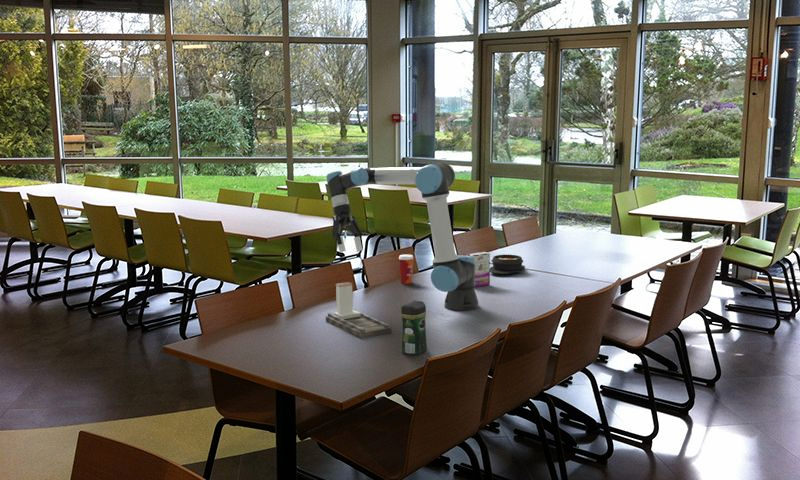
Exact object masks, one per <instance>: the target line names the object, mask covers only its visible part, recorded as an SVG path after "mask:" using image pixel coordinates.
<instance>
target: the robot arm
mask: <svg viewBox="0 0 800 480" xmlns="http://www.w3.org/2000/svg"><path fill="white" fill-rule="evenodd" d="M455 179H456V172H455V170H454V168H453V167H452V166H451V165H450V164H448V163H445V162H438V163H437V162H436V163H431V164H426V165H424V166H411V167H410V166H409V167H407V166H403V167H402V166H400V167H399V166H398V167H374V166H373V167H372V166H371V167H366V168H364V167H357V168H354V169H352V170H349V171H347V172H344V173H343V172H342V171H341V170H335V171H330V172H329V173H327V175H326V182H327V186H328V188H327V189H328V190H329V195H330V199H331V204H332V207H333V214H334V215H333V216H332V222H333V223H332V232H331V233H332V234H331V235H332V238H334V239H336V241H337V246H338V251H339V253H343V252H346V246H345V243H344V242H345V241H344V238H343V236H342V233H343V229H344V227H345V228H348V230H349V231H350V232H351V234H352V235H353V236H354V238H353V239H354V244H355V249H356V252H361V251H363V246H362V240H361V237H362V235H363V233H362V230H361V229H360V227H359V224H358V222H357V221H356V218H355V215H350V213H351V212H352V209H351V206H350V201H349V198H348V192H347V191H349V190H350V189H354V188H356V187H361V186H366V185H415V186H416V189H417V190H418V191H420V192H421V199H423V200H424V201H425V202H426V206H427V213H428V219H429V226H430V231H431V238H432V239H431V240H432V244H433V250H434V251H433V252H434V259H433V260H432V267H433V269H432V270H431V273H430V281H431V284H432V285H433V287H434V288H435V289H437V290H438V291H440V292H443V293H446V292H447V293H446V295H445V299H444V308H446V309H448V310H452V311H463V312H464V311H472V310H475V309H478V308H479V298H478V296H477V293H476V287H475V259H474V258H473V257H471V256H466V255H461V254H460V255H459V254H456V250H455V244H454V237H453V233H452V232H453V231H452V225H451V224H452V223H451V219H450V213H449V206H448V199H447V198H448V197H449V195H450V191H449V190H450V189H449V188H450V187H452V185H454V182H455V181H456V180H455Z"/></svg>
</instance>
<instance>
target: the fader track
mask: <svg viewBox="0 0 800 480" xmlns="http://www.w3.org/2000/svg"><path fill="white" fill-rule="evenodd" d="M353 310H355V311H358V312H360V313H361V316H360V317H354V318H348V319H342V318H340V317H338V316H336V315H334V313H331V312H327V315H326V316H325V321H326V322H327V323H329V324H332V325H334V326H336V327H337V328H339V329H341V330H344V331H346V332H348V333H350V334H352V335H353V336H356V337H357V338H359V339H363V338H368V337H375V336H380V335H386V334H390V333H393V332H392V330H393V329H392V327H391V326H390V324H388V323H386V322H383V321H381V320H379V319H377V318H374V317H372V316H370V315H368V314H366V313H364V312H361V311H359V310H357V309H354V308H353Z"/></svg>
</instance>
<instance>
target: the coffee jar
mask: <svg viewBox="0 0 800 480" xmlns="http://www.w3.org/2000/svg"><path fill="white" fill-rule="evenodd" d="M426 307H427V306H426V303H424V301H420V300H413V301H410V302H408V303H405V304H403V305H401V307H400V316H401V324H402V325H401V329H402V330H401V352H402V353H403V354H405V355H419V354H421V353H424V352H425V351H426V350H427V348H428V346H427V343H428V342H427V333H426V332H427V329H426V316H427V315H426V314H427V309H426Z"/></svg>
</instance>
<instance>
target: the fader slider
mask: <svg viewBox="0 0 800 480" xmlns="http://www.w3.org/2000/svg"><path fill="white" fill-rule="evenodd" d="M335 287H336V288H335V290H336V291H335V293H336V294H335V297H336V298H335V299H336V301H335V302H336V311H334V312H333V314H334V315H336V316H338V317H340V318H342V319H348V318H354V317H360V316H361V313H362V312H361V311H359V310H356V309H354V308H353V306H354V305H353V304H354V303H353V302H354V301H353V299H354V298H353V282H350V281H347V282H341V283H340V282H338V283H335ZM353 309H354V310H353ZM355 310H356V311H355ZM358 311H359V312H358ZM360 312H361V313H360Z"/></svg>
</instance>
